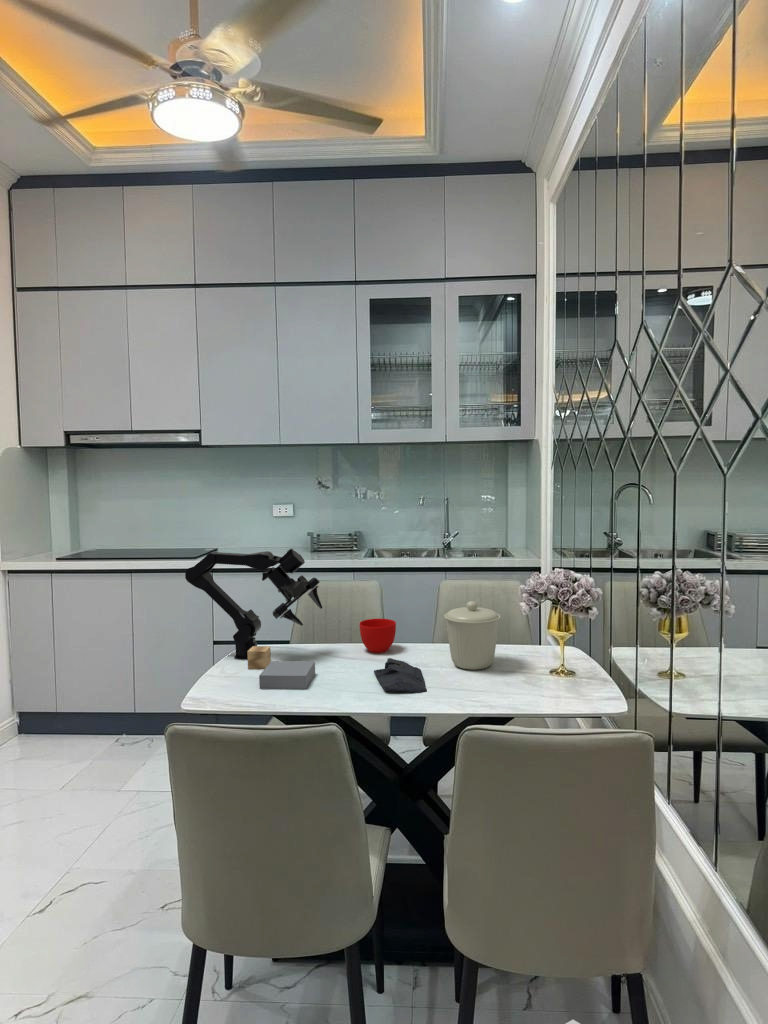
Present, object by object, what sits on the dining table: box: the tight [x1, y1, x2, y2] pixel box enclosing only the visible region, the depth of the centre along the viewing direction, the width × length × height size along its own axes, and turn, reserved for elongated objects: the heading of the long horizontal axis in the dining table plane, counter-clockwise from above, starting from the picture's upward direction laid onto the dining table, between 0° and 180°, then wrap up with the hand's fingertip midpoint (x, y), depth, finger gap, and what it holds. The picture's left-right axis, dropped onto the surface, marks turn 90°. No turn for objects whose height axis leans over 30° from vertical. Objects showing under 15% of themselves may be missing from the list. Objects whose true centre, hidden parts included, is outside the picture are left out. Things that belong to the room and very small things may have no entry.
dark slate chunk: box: [373, 657, 428, 694], centre depth 190 cm, size 15×22×5 cm
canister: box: [443, 600, 501, 671], centre depth 203 cm, size 18×18×21 cm
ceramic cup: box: [359, 618, 397, 654], centre depth 224 cm, size 13×17×10 cm
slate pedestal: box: [258, 660, 316, 690], centre depth 192 cm, size 14×14×4 cm
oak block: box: [247, 645, 272, 670], centre depth 207 cm, size 6×6×6 cm
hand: (312, 616), depth 214 cm, fingers open, 9 cm apart
